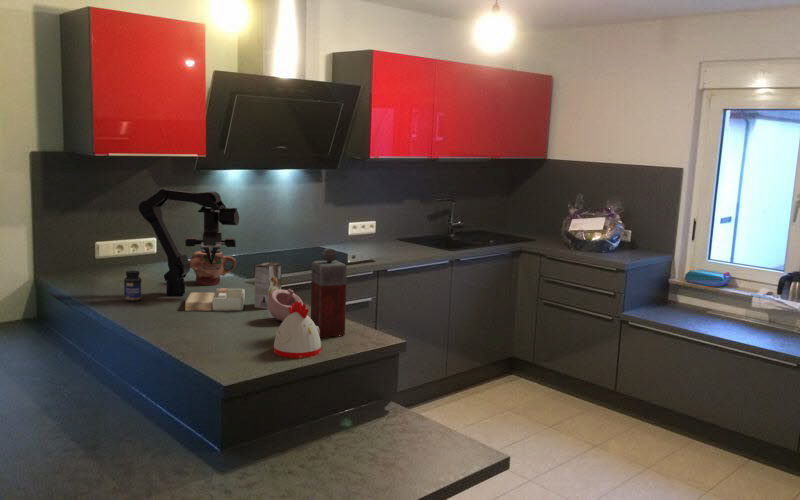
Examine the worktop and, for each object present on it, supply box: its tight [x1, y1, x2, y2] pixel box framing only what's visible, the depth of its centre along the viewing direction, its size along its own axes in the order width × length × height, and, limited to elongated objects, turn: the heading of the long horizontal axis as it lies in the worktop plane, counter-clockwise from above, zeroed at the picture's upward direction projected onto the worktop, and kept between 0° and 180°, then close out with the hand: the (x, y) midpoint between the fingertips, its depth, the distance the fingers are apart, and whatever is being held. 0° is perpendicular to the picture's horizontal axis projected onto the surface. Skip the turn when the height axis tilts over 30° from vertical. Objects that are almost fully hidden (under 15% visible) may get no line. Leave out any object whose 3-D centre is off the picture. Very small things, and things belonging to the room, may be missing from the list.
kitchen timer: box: [273, 301, 322, 359], centre depth 200 cm, size 14×14×15 cm
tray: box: [212, 288, 246, 312], centre depth 255 cm, size 10×17×4 cm, turn 10°
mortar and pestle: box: [267, 288, 304, 322], centre depth 235 cm, size 12×12×12 cm
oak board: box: [184, 291, 216, 312], centre depth 253 cm, size 9×17×3 cm, turn 11°
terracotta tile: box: [218, 287, 227, 293], centre depth 258 cm, size 4×4×2 cm
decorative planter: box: [188, 249, 237, 286], centre depth 292 cm, size 20×12×14 cm, turn 105°
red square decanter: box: [310, 247, 348, 338], centre depth 221 cm, size 9×11×28 cm
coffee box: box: [254, 261, 282, 310], centre depth 255 cm, size 9×6×16 cm
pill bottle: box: [123, 270, 142, 302], centre depth 256 cm, size 6×6×11 cm
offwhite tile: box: [218, 293, 226, 298], centre depth 250 cm, size 4×4×2 cm
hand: (211, 264), depth 266 cm, fingers closed
